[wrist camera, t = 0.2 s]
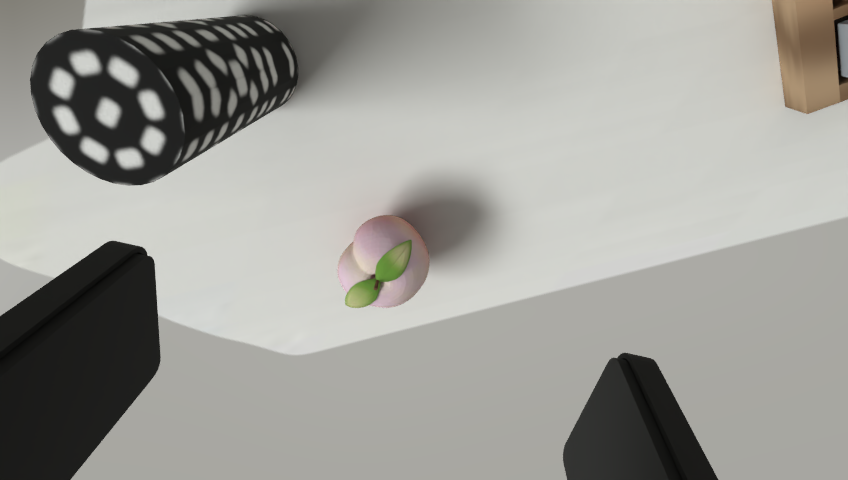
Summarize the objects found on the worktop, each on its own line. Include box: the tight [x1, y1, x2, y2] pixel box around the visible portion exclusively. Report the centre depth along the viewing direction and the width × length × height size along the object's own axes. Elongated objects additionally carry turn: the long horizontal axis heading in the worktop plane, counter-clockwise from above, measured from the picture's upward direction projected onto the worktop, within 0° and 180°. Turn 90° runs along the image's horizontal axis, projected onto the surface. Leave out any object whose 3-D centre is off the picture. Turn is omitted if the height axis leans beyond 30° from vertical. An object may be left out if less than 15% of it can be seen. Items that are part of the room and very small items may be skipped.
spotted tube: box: [30, 15, 298, 185], centre depth 34 cm, size 8×8×20 cm
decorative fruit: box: [338, 215, 429, 308], centre depth 46 cm, size 9×8×10 cm
